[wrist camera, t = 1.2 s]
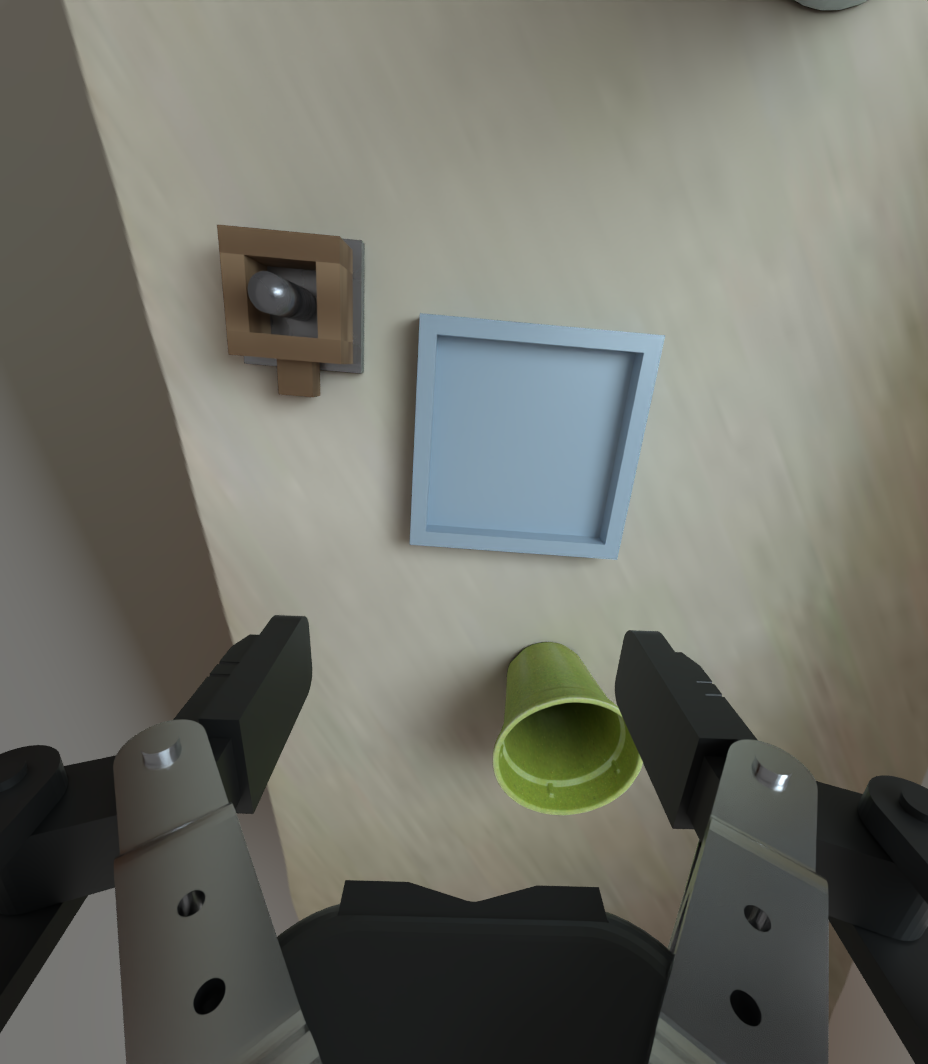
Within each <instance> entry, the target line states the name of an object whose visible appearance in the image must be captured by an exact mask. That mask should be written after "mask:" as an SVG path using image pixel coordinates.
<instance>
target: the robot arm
mask: <svg viewBox="0 0 928 1064" xmlns="http://www.w3.org/2000/svg"><path fill="white" fill-rule="evenodd" d="M795 1H797V2H798V3H800V4H802V5H803V6H807V7H811V8H814V9H818V10H842V9H845V8H848V7H852V6H855V5H859V4H861V3H863V2H865V1H867V0H795ZM311 680H312V659H311V647H310V634H309V623H308V619H307V617H305V616H284V615H275V616H273V617H272V618H271V620H270V621H269V622H268V624H267V625H266V626H265V628H264V629H263V631H262V632H261V633H260V635H248V636H247V637H245V638H244V639H242V640H241V641H239V642H238V643H236V644H235V645H233V646H232V647H231V648H230V649H229V650H228V652H227V653H226V654H225V655H224V656H223V658H222V659H221V660H220V663H219V664H217V665H216V667H215V668H214V669H213V670H212V672H211V673H210V676H209V677H207V678H206V679H205V680H204V682H203V683H202V684H201V685H200V687H199V688H198V689H197V690H196V692H195V693H194V694H193V696H192V697H191V698H190V699H189V700H188V702H187V703H186V704H185V705H184V707H183V708H182V709H181V710H180V712H179V713H178V714H177V716H176V717H175V718H174V719H173V720H171V721H167V722H163V723H160V724H156V725H154V726H151V727H149V728H147V729H145V730H143V731H141V732H140V733H138V734H137V735H135V736H134V737H132V738H131V739H130V740H128V741H127V743H125V745H123V746H122V748H121V749H120V750H119V752H118V753H117V755H116V756H111V757H107V758H102V759H97V760H92V761H87V762H82V763H77V764H72V765H67V766H63V763H62V760H61V757H60V754H59V752H58V751H57V750H56V749H54V748H52V747H50V746H44V745H34V746H27V747H21V748H17V749H14V750H10V751H7V752H5V753H2V754H0V1032H1V1031H2V1029H3V1028H4V1026H5V1024H6V1023H7V1021H8V1020H9V1019H10V1017H11V1015H12V1014H13V1012H14V1011H15V1009H16V1008H17V1006H18V1004H19V1003H20V1001H21V1000H22V998H23V996H24V995H25V993H26V992H27V990H28V989H29V987H30V986H31V984H32V982H33V981H34V979H35V978H36V976H37V975H38V973H39V971H40V970H41V968H42V967H43V965H44V963H45V962H46V960H47V959H48V957H49V956H50V954H51V953H52V951H53V949H54V948H55V946H56V945H57V943H58V942H59V940H60V938H61V937H62V935H63V934H64V932H65V930H66V929H67V927H68V926H69V924H70V923H71V921H72V920H73V918H74V916H75V915H76V913H77V912H78V910H79V909H80V907H81V905H82V904H83V902H84V901H85V899H86V898H87V896H88V895H90V894H94V893H97V892H100V891H104V890H107V889H110V888H115V897H116V911H117V928H118V943H119V958H120V975H121V989H122V1005H123V1020H124V1037H125V1052H126V1064H828V920H829V921H830V923H831V925H832V926H833V928H834V930H835V931H836V933H837V934H838V936H839V938H840V939H841V941H842V943H843V944H844V946H845V948H846V949H847V951H848V953H849V954H850V956H851V958H852V959H853V961H854V963H855V964H856V966H857V968H858V969H859V971H860V973H861V974H862V976H863V978H864V979H865V981H866V983H867V984H868V986H869V987H870V989H871V991H872V993H873V994H874V996H875V998H876V999H877V1001H878V1003H879V1004H880V1006H881V1008H882V1009H883V1011H884V1013H885V1014H886V1016H887V1018H888V1019H889V1021H890V1023H891V1024H892V1026H893V1027H894V1029H895V1031H896V1033H897V1034H898V1036H899V1037H900V1039H901V1041H902V1043H903V1044H904V1046H905V1047H906V1049H907V1050H908V1052H909V1054H910V1056H911V1057H912V1059H913V1061H914V1062H915V1064H928V789H927V788H925V787H923V786H921V785H918V784H916V783H914V782H911V781H908V780H905V779H902V778H898V777H893V776H876V777H874V778H872V779H871V780H870V781H869V783H868V785H867V787H866V789H865V791H864V793H863V794H860V793H857V792H853V791H850V790H846V789H842V788H839V787H835V786H832V785H828V784H824V783H821V782H818V781H815V779H814V777H813V775H812V774H811V773H810V771H809V770H808V769H807V768H806V767H805V766H804V765H803V764H802V763H801V762H800V761H799V760H797V759H796V758H795V757H793V756H792V755H790V754H789V753H787V752H786V751H784V750H782V749H780V748H778V747H776V746H774V745H771V744H768V743H765V742H762V741H758V740H757V739H756V737H755V736H754V735H753V734H752V732H751V731H750V730H749V728H748V727H747V726H746V725H745V723H744V722H743V721H742V719H741V718H740V717H739V715H738V714H737V713H736V712H735V710H734V709H733V708H732V706H731V705H730V704H729V703H728V701H727V700H726V699H725V697H722V694H721V692H720V691H719V690H718V688H717V687H716V686H715V684H712V681H711V679H710V678H709V677H708V675H707V674H706V673H705V672H704V670H703V669H702V668H701V666H700V665H698V664H697V663H695V662H694V661H693V660H691V659H690V658H689V657H687V656H686V655H684V654H683V653H682V652H675V651H674V650H673V649H672V647H671V646H670V644H669V643H668V642H667V640H666V639H665V638H664V636H663V635H662V634H661V633H660V632H658V631H634V630H629V631H627V632H626V634H625V636H624V640H623V645H622V650H621V655H620V660H619V665H618V670H617V675H616V680H615V697H616V702H617V705H618V708H619V710H620V712H621V715H622V717H623V719H624V721H625V724H626V726H627V728H628V730H629V733H630V735H631V737H632V739H633V741H634V744H635V746H636V748H637V750H638V753H639V755H640V757H641V759H642V762H643V764H644V766H645V768H646V770H647V773H648V775H649V777H650V779H651V782H652V784H653V786H654V788H655V791H656V793H657V795H658V797H659V799H660V802H661V804H662V806H663V808H664V811H665V813H666V815H667V817H668V819H669V822H670V824H671V826H672V828H673V829H695V831H696V834H697V836H698V838H699V842H698V845H697V848H696V851H695V855H694V858H693V862H692V865H691V869H690V872H689V876H688V880H687V883H686V887H685V890H684V894H683V897H682V901H681V904H680V908H679V911H678V915H677V918H676V922H675V926H674V929H673V932H672V936H671V939H670V942H669V946H668V949H667V948H666V947H665V946H664V945H663V944H662V943H661V942H659V941H658V940H656V939H655V938H654V937H652V936H651V935H650V934H648V933H647V932H646V931H644V930H642V929H641V928H639V927H637V926H636V925H634V924H632V923H631V922H629V921H627V920H624V919H622V918H620V917H618V916H616V915H613V914H610V913H607V912H605V909H604V906H603V902H602V898H601V894H600V890H599V887H570V886H534V887H530V888H526V889H523V890H519V891H515V892H512V893H508V894H504V895H501V896H497V897H493V898H490V899H486V900H482V901H477V902H470V901H466V900H463V899H460V898H456V897H453V896H450V895H447V894H444V893H441V892H438V891H435V890H432V889H428V888H425V887H422V886H419V885H416V884H413V883H410V882H390V881H354V880H345V885H344V889H343V894H342V898H341V903H340V904H338V905H335V906H331V907H328V908H326V909H323V910H321V911H318V912H316V913H314V914H312V915H310V916H308V917H306V918H304V919H302V920H301V921H299V922H297V923H296V924H294V925H293V926H291V927H290V928H289V929H287V930H286V931H284V932H283V933H281V934H280V935H279V936H278V937H277V936H276V933H275V930H274V927H273V924H272V921H271V918H270V915H269V912H268V908H267V905H266V903H265V899H264V896H263V893H262V890H261V888H260V884H259V881H258V878H257V875H256V872H255V869H254V866H253V863H252V860H251V857H250V854H249V851H248V848H247V845H246V842H245V839H244V835H243V833H242V830H241V826H240V823H239V820H238V817H237V814H236V813H245V814H253V813H254V812H255V809H256V807H257V805H258V803H259V801H260V798H261V796H262V794H263V792H264V789H265V788H266V785H267V783H268V781H269V779H270V777H271V774H272V772H273V770H274V768H275V766H276V763H277V761H278V759H279V757H280V755H281V752H282V750H283V748H284V746H285V744H286V741H287V739H288V737H289V735H290V733H291V730H292V728H293V726H294V724H295V722H296V719H297V717H298V715H299V713H300V711H301V709H302V706H303V704H304V702H305V700H306V698H307V695H308V693H309V690H310V686H311Z"/></svg>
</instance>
